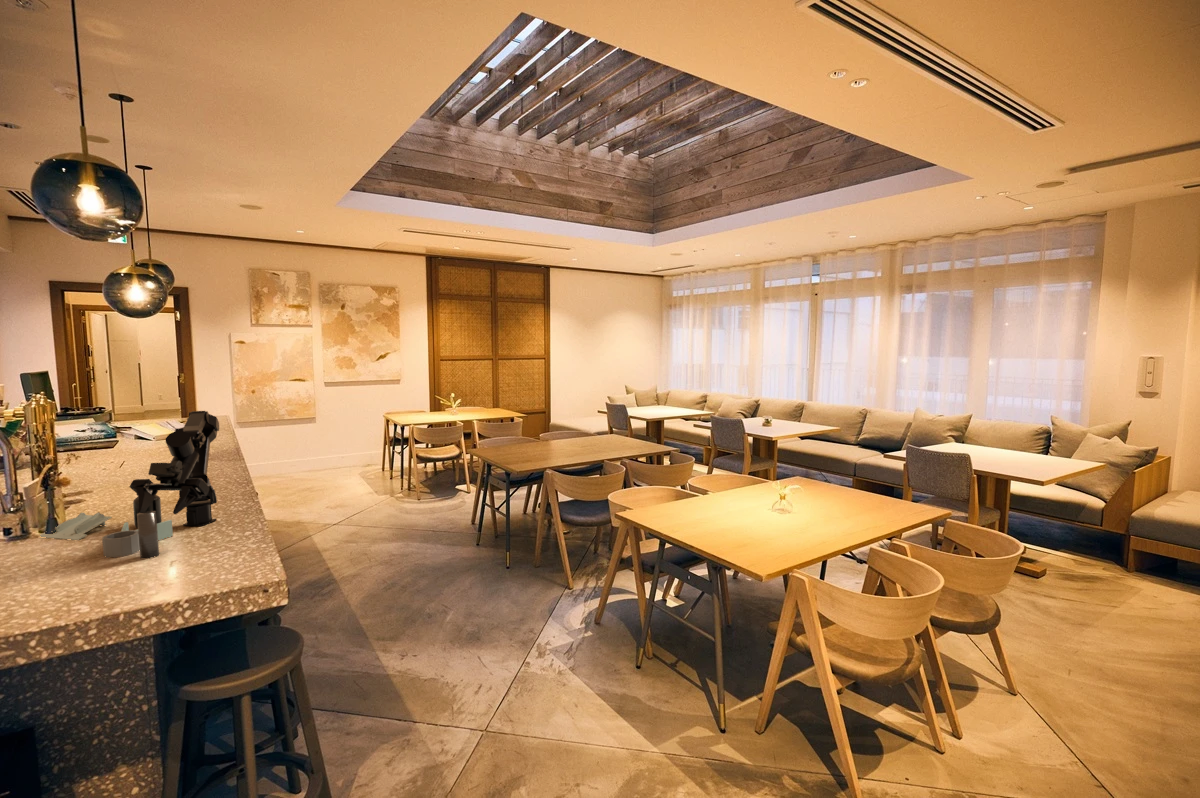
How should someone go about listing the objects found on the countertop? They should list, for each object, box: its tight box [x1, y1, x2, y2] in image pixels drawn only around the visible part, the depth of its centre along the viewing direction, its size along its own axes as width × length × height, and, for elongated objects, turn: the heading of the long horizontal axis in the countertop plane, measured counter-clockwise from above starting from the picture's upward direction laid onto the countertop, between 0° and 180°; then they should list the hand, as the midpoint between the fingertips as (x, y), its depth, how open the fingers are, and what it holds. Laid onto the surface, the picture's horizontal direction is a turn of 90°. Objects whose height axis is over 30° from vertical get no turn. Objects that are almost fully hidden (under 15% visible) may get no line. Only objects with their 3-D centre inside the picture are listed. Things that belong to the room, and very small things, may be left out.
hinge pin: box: [137, 511, 160, 559], centre depth 153 cm, size 4×4×12 cm
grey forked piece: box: [101, 519, 174, 558], centre depth 161 cm, size 18×13×5 cm
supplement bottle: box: [132, 493, 163, 529], centre depth 180 cm, size 7×7×12 cm
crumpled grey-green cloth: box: [39, 512, 112, 541], centre depth 173 cm, size 14×6×15 cm
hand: (157, 513), depth 156 cm, fingers open, 9 cm apart
